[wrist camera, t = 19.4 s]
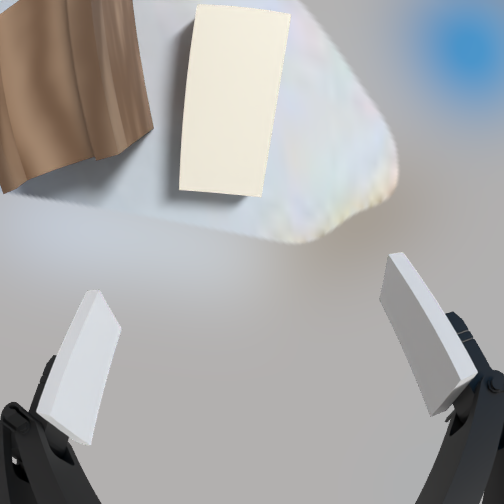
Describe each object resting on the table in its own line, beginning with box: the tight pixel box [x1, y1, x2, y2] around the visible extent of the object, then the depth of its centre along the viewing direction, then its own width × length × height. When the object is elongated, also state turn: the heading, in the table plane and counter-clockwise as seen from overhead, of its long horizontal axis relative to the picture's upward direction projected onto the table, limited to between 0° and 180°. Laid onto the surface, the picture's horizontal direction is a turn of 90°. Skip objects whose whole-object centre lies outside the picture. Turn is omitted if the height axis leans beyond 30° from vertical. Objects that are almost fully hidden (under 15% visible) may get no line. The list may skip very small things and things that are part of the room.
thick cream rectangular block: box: [179, 4, 291, 197], centre depth 25 cm, size 8×18×4 cm, turn 172°
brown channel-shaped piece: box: [0, 0, 154, 194], centre depth 18 cm, size 14×18×10 cm
